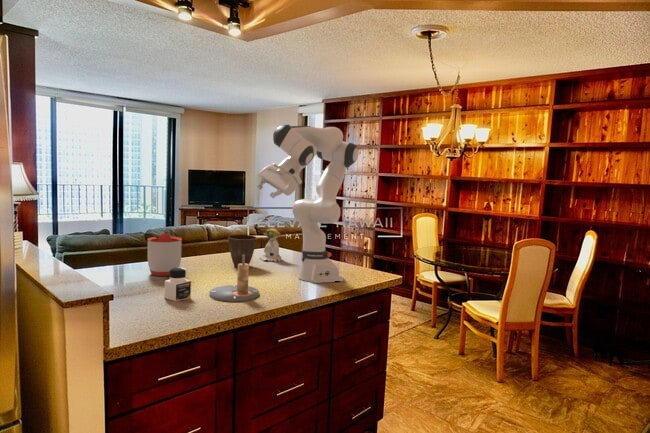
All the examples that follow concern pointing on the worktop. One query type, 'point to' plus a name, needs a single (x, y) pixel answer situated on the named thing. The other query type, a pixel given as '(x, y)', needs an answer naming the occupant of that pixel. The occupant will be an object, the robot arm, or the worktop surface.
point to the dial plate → (232, 294)
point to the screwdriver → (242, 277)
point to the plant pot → (241, 248)
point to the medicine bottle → (177, 285)
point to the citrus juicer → (164, 254)
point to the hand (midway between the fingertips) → (264, 192)
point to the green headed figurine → (271, 246)
